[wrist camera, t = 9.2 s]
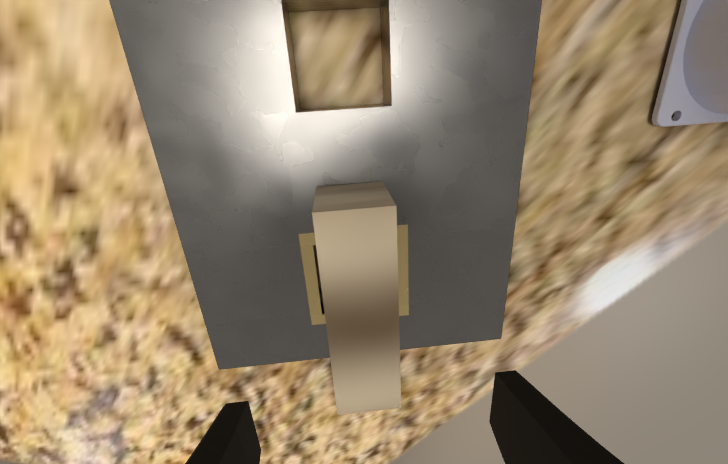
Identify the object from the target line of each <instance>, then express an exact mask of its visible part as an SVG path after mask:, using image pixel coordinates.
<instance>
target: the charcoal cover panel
mask: <svg viewBox="0 0 728 464" xmlns="http://www.w3.org/2000/svg"><path fill="white" fill-rule="evenodd" d="M109 1H110V5H111V8H112V11H113V15H114V18H115V21H116V25H117V28H118V31H119V35H120V38H121V42H122V45H123V48H124V52H125V55H126V58H127V62H128V65H129V69H130V72H131V75H132V79H133V82H134V85H135V89H136V92H137V95H138V99H139V102H140V106H141V109H142V112H143V116H144V119H145V122H146V126H147V129H148V133H149V136H150V139H151V143H152V146H153V149H154V153H155V156H156V159H157V163H158V166H159V170H160V173H161V176H162V180H163V183H164V186H165V190H166V193H167V197H168V200H169V203H170V207H171V210H172V213H173V217H174V220H175V224H176V227H177V230H178V234H179V237H180V240H181V244H182V247H183V250H184V254H185V257H186V261H187V264H188V267H189V271H190V274H191V277H192V281H193V284H194V288H195V291H196V294H197V298H198V301H199V304H200V308H201V311H202V314H203V318H204V321H205V325H206V328H207V331H208V335H209V338H210V341H211V345H212V348H213V352H214V355H215V358H216V362H217V365H218V368H219V370H220V369H229V368H238V367H247V366H256V365H265V364H275V363H284V362H293V361H302V360H311V359H320V358H329V357H330V352H329V344H328V336H327V328H326V320H325V312H324V304H323V297H322V289H321V281H320V273H319V265H318V257H317V249H316V241H315V233H314V225H313V217H312V209H313V203H314V197H315V192H316V187H322V186H335V185H347V184H360V183H372V182H383V183H384V184H385V186H386V188H387V190H388V192H389V193H390V195H391V197H392V199H393V200H394V202H395V204H396V209H397V251H398V293H399V335H400V350H402V349H411V348H420V347H430V346H439V345H448V344H457V343H466V342H475V341H484V340H493V339H501V336H502V327H503V319H504V311H505V303H506V294H507V286H508V278H509V270H510V261H511V253H512V245H513V237H514V228H515V220H516V212H517V203H518V195H519V187H520V179H521V170H522V162H523V154H524V146H525V137H526V129H527V121H528V113H529V104H530V96H531V88H532V79H533V71H534V63H535V55H536V46H537V38H538V30H539V22H540V13H541V5H542V0H109ZM377 7H380V18H381V46H382V74H383V103H384V104H378V105H363V106H348V107H334V108H319V109H304V110H301V106H300V98H299V90H298V82H297V74H296V66H295V58H294V50H293V42H292V34H291V26H290V18H289V12H300V11H319V10H339V9H358V8H377Z"/></svg>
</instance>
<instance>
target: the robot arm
mask: <svg viewBox="0 0 728 464" xmlns="http://www.w3.org/2000/svg"><path fill="white" fill-rule="evenodd" d="M673 113H674V116H673V118H672V119H671V116H672V114H673ZM719 122H728V0H682V2H681V6H680V9H679V13H678V17H677V21H676V25H675V29H674V33H673V37H672V41H671V45H670V49H669V52H668V56H667V60H666V64H665V68H664V72H663V76H662V80H661V84H660V88H659V92H658V95H657V99H656V103H655V107H654V111H653V115H652V123H653V124H654V125H655V126H662V127H666V126H679V125H692V124H706V123H719ZM490 424H491V427H492V430H493V433H494V435H495V438H496V441H497V443H498V446H499V449H500V452H501V454H502V457H503V459H504V461H505V464H624V463H623V462H621V461H620V460H619V459H618V458H616V457H615V456H614V455H613V454H611V453H610V452H609V451H608V450H606V449H605V448H604V447H603V446H601V445H600V444H599V443H598V442H596V441H595V440H594V439H593V438H592V437H591V436H590V435H588V434H587V433H586V432H585V431H584V430H582V429H581V428H580V427H579V426H578V425H576V424H575V423H574V422H573V421H572V420H571V419H570V418H568V417H567V416H566V415H565V414H564V413H562V412H561V411H560V410H559V409H558V408H557V407H556V406H555V405H553V404H552V403H551V402H550V401H549V400H548V399H547V398H546V397H545V396H543V395H542V394H541V393H540V392H539V391H538V390H537V389H536V388H535V387H534V386H532V385H531V384H530V383H529V382H528V381H527V380H526V379H525V378H523V377H522V376H521V375H520V374H519V373H518V372H517V371H516V370H514V371H505V372H497V373H495V380H494V388H493V396H492V405H491V413H490ZM260 454H261V448H260V444H259V440H258V437H257V433H256V429H255V425H254V422H253V418H252V414H251V410H250V407H249V403H248V401H244V402H235V403H227V404H225V405H224V407H223V408H222V409H221V411H220V413H219V414H218V416H217V417H216V419H215V420H214V422H213V423H212V425H211V426H210V428H209V429H208V431H207V432H206V434H205V435H204V437H203V438H202V440H201V441H200V443H199V444H198V446H197V447H196V449H195V450H194V452H193V453H192V455H191V456H190V458H189V459H188V461H187V462H186V463H185V464H259V462H260Z"/></svg>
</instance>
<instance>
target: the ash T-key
mask: <svg viewBox="0 0 728 464" xmlns="http://www.w3.org/2000/svg"><path fill="white" fill-rule="evenodd" d="M312 217H313V225H314V233H315V241H316V249H317V257H318V265H319V273H320V281H321V289H322V297H323V304H324V312H325V320H326V328H327V336H328V344H329V352H330V360H331V368H332V376H333V383H334V391H335V399H336V407H337V415H344V414H352V413H360V412H369V411H377V410H386V409H394V408H401V377H400V335H399V293H398V251H397V209H396V204H395V202H394V200H393V199H392V197H391V195H390V193H389V192H388V190H387V188H386V186H385V184H384V183H383V182H372V183H360V184H347V185H335V186H322V187H316V192H315V197H314V203H313V209H312Z"/></svg>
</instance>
